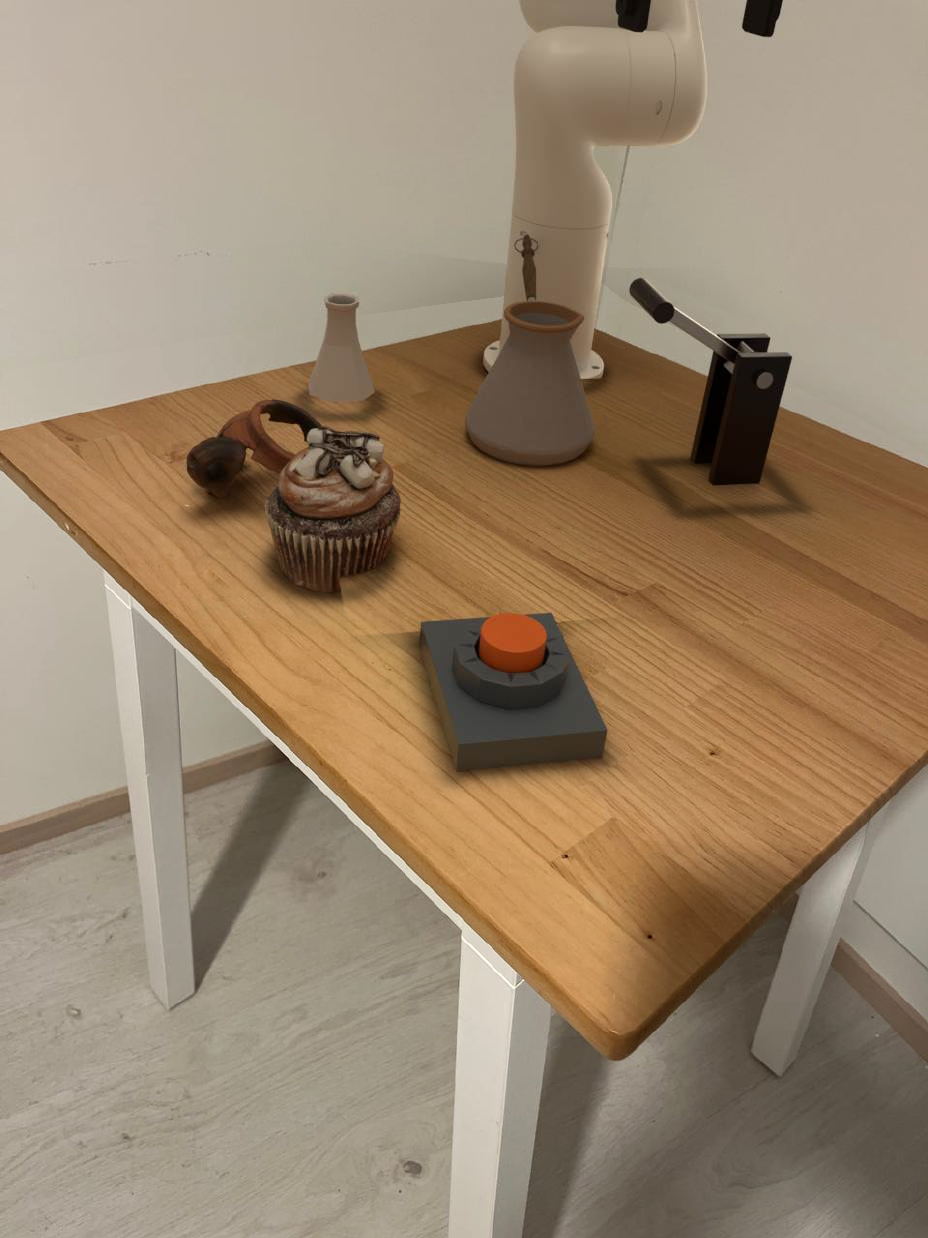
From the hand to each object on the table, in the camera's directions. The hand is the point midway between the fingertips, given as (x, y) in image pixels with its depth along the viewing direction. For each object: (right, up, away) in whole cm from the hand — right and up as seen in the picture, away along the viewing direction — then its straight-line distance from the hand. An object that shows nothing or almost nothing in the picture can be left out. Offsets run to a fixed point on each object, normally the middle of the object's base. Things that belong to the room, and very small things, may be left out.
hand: (695, 31), depth 73 cm
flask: (-27, -20, +29) cm, 45 cm away
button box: (-13, -45, -5) cm, 47 cm away
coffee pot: (-10, -23, +27) cm, 37 cm away
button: (-13, -42, -7) cm, 45 cm away
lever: (+3, -18, +12) cm, 22 cm away
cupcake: (-25, -36, +7) cm, 45 cm away
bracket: (+7, -28, +21) cm, 36 cm away
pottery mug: (-33, -30, +14) cm, 47 cm away
